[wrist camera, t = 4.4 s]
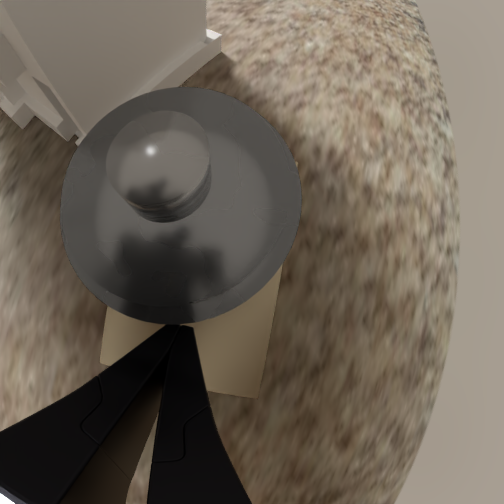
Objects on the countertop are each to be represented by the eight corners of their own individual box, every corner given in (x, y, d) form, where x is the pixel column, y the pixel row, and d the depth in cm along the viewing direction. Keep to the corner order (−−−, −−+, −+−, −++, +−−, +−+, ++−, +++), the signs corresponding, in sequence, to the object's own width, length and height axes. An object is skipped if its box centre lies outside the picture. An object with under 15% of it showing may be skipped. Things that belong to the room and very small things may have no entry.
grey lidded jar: (121, 298, 16) (-9, 284, 5) (151, 174, 17) (87, 45, 7) (252, 325, 16) (300, 362, 6) (274, 195, 18) (332, 68, 7)
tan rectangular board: (103, 361, 16) (99, 363, 15) (155, 141, 18) (153, 136, 18) (256, 396, 16) (258, 399, 15) (296, 166, 19) (298, 161, 18)
